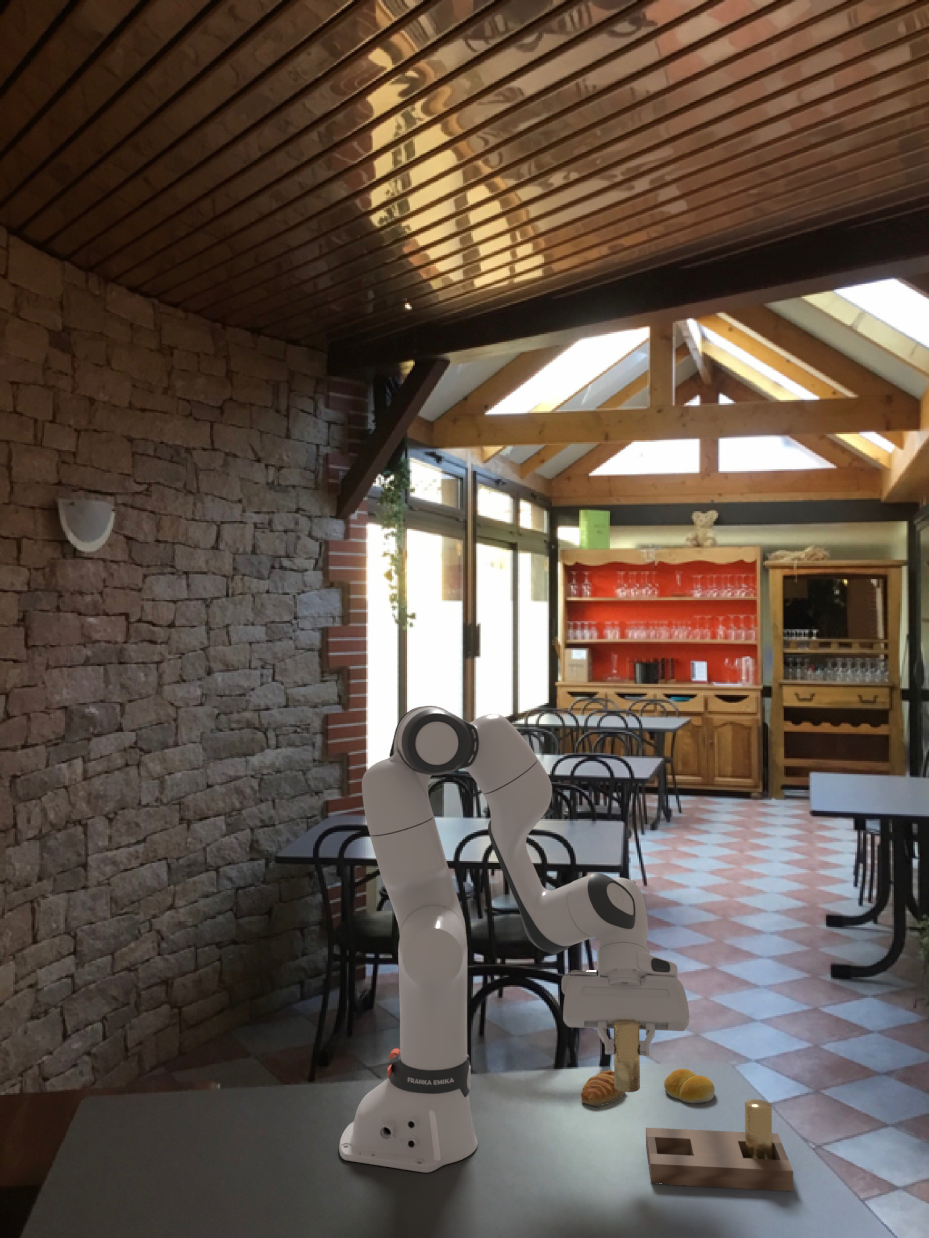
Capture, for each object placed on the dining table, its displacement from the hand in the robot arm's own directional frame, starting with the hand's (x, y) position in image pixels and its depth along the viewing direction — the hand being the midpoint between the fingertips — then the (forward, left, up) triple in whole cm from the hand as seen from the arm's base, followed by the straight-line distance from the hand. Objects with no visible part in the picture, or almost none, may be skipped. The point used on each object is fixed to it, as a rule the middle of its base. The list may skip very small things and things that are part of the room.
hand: (627, 1053), depth 163 cm
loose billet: (0, +1, -5) cm, 5 cm away
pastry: (-3, +25, -18) cm, 31 cm away
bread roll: (+12, +28, -18) cm, 35 cm away
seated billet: (+20, +1, -17) cm, 27 cm away
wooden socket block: (+14, +1, -17) cm, 22 cm away
